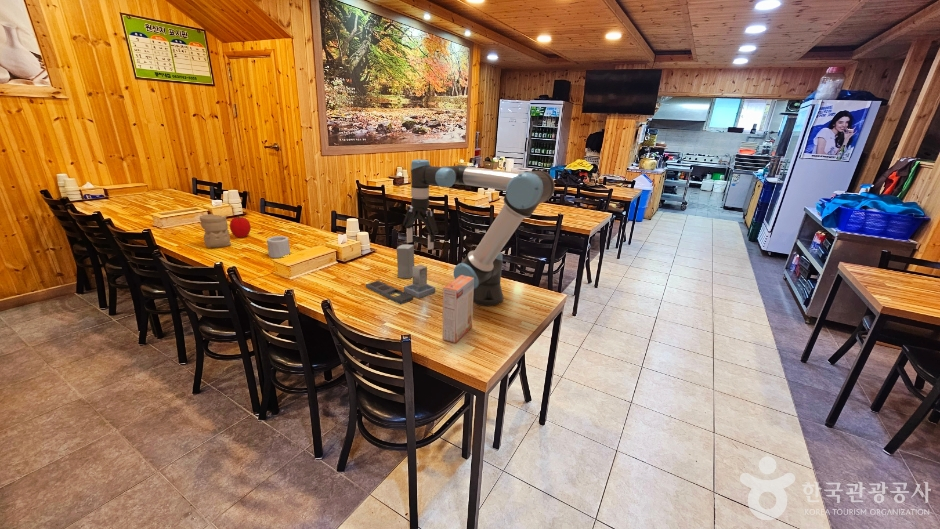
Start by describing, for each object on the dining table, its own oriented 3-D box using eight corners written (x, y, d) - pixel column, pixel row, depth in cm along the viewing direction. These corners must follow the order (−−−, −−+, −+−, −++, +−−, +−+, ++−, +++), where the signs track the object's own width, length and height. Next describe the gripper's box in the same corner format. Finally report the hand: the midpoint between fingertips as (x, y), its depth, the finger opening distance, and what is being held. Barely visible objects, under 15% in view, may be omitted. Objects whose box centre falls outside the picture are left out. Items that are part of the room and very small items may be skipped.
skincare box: (409, 279, 185) (409, 249, 180) (396, 277, 187) (395, 247, 181) (415, 273, 193) (415, 244, 188) (402, 271, 194) (402, 243, 189)
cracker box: (458, 323, 146) (461, 273, 139) (472, 327, 143) (475, 277, 136) (440, 339, 134) (442, 286, 127) (455, 344, 131) (458, 290, 124)
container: (217, 242, 224) (211, 213, 218) (236, 244, 223) (231, 214, 217) (200, 248, 213) (193, 217, 207) (220, 250, 211) (214, 219, 205)
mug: (294, 255, 210) (292, 238, 207) (276, 259, 202) (273, 242, 198) (280, 250, 217) (278, 233, 213) (262, 254, 208) (259, 237, 205)
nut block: (426, 291, 172) (427, 267, 168) (419, 294, 168) (419, 269, 164) (419, 288, 174) (420, 264, 170) (412, 291, 171) (412, 266, 167)
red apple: (226, 238, 233) (222, 217, 228) (240, 233, 244) (237, 213, 240) (243, 240, 231) (239, 219, 226) (256, 235, 242) (253, 215, 238)
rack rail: (413, 299, 164) (413, 296, 163) (400, 304, 158) (400, 300, 158) (378, 283, 178) (378, 280, 178) (366, 287, 173) (365, 284, 173)
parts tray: (435, 292, 172) (435, 287, 171) (418, 298, 165) (418, 293, 164) (420, 285, 178) (420, 281, 177) (403, 291, 171) (403, 286, 170)
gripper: (447, 201, 152) (446, 250, 159) (407, 192, 167) (407, 237, 174) (434, 203, 146) (433, 253, 154) (394, 194, 161) (395, 240, 168)
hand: (419, 245), depth 164 cm, fingers open, 13 cm apart
